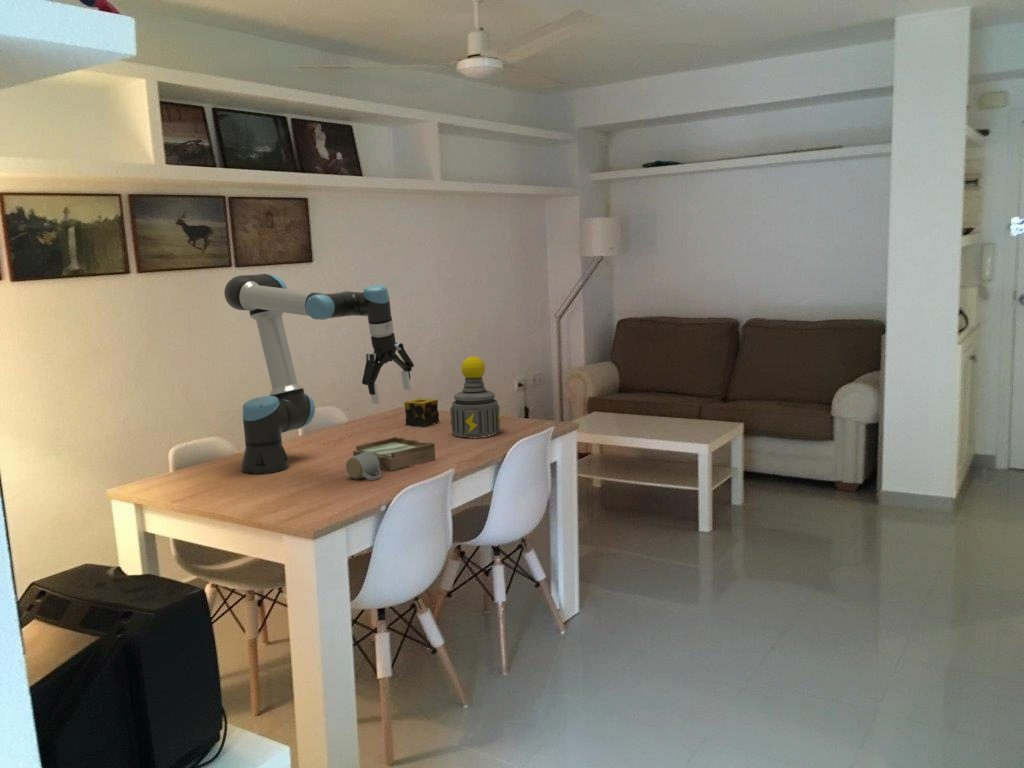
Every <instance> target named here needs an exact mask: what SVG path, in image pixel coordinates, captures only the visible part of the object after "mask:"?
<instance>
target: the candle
mask: <svg viewBox="0 0 1024 768" xmlns="http://www.w3.org/2000/svg"><path fill="white" fill-rule="evenodd" d="M438 399H439V398H438ZM438 399H435V398H434V399H433V398H415V399H411V400H407V401H405V402H403V403H404V412H405V413H404V414H405V425H406V426H407V425H410V426H409V427H417V426H421V427H420V428H427V427H430V426H429V425H431V426H433V425H435V424H434V423H437V424H439V423H440V413H439V409H438V405H439V403H438V402H439V401H438ZM438 422H439V423H438ZM432 424H433V425H432ZM426 426H427V427H426Z"/></svg>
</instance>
